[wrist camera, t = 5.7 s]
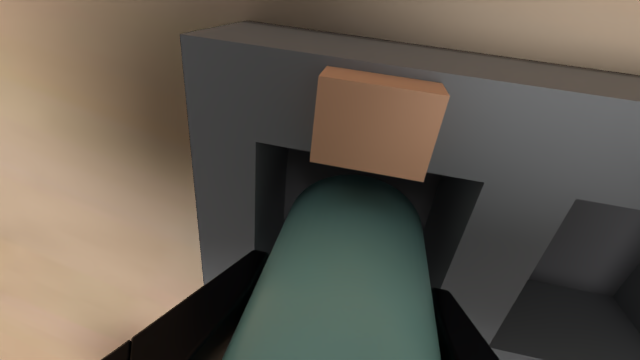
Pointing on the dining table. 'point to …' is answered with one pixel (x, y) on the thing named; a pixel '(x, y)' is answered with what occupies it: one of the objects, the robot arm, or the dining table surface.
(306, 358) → the plug
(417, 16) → the dining table surface
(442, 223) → the dock
